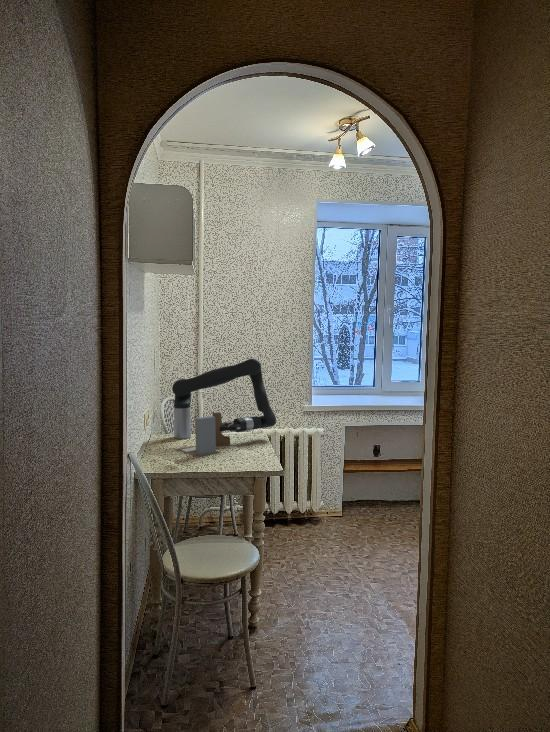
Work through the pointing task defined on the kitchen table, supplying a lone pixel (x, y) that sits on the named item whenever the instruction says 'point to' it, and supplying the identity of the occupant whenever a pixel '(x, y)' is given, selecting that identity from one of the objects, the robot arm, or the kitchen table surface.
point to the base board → (194, 451)
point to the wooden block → (220, 437)
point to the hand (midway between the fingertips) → (217, 428)
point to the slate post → (205, 435)
